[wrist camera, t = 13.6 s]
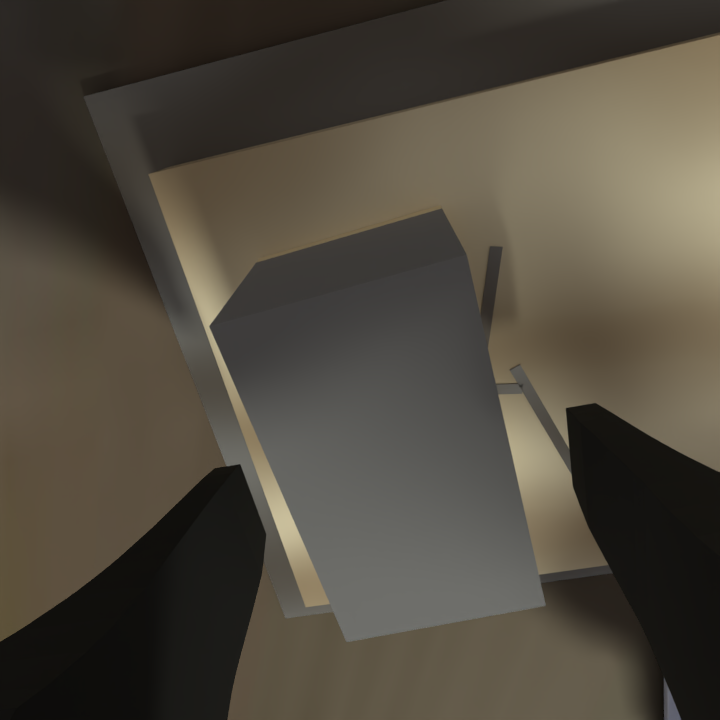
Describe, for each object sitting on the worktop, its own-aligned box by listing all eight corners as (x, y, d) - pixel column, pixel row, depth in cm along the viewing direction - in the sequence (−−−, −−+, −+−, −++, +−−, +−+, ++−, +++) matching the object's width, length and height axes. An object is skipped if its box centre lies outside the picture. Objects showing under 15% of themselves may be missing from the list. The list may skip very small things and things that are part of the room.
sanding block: (504, 479, 16) (545, 605, 12) (354, 510, 17) (346, 641, 13) (440, 204, 13) (466, 254, 9) (259, 258, 14) (209, 326, 10)
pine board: (960, 515, 19) (1020, 558, 17) (287, 609, 22) (279, 655, 20) (1141, -182, 12) (1277, -232, 10) (90, 96, 14) (50, 96, 13)
